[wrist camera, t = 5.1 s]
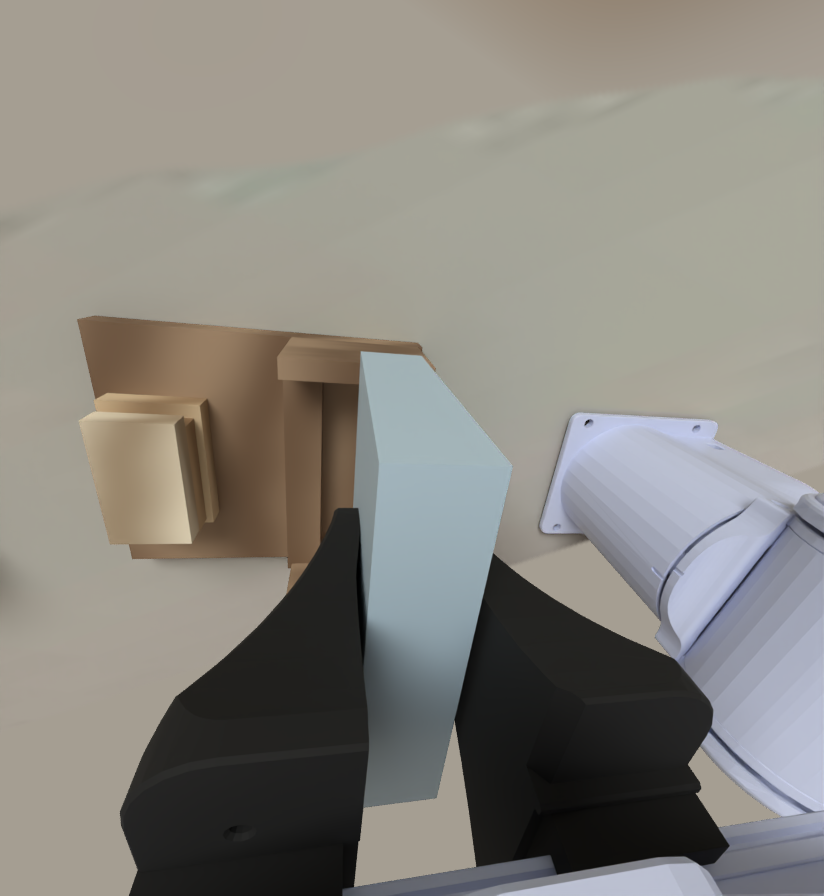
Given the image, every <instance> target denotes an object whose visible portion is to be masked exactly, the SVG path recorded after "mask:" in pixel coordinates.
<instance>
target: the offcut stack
mask: <svg viewBox="0 0 824 896" xmlns="http://www.w3.org/2000/svg"><path fill="white" fill-rule="evenodd" d="M94 403H95V408H96V412H93V413H91V414H89V415H88V416H86V417H84V418H82V419H81V420H79V424H80V428H81V432H82V436H83V440H84V444H85V448H86V452H87V456H88V460H89V464H90V467H91V471H92V475H93V479H94V483H95V487H96V491H97V495H98V499H99V503H100V507H101V511H102V515H103V519H104V523H105V526H106V530H107V534H108V538H109V542H110V544H192V543H193V541H194V539H195V537H196V535H197V533H198V532H200V530H201V528H202V526H203V525H204V523H205V522H214V521H215V519H216V517H217V515H218V513H219V502H218V493H217V484H216V475H215V466H214V456H213V447H212V438H211V429H210V420H209V411H208V402H207V398H191V397H173V396H154V395H135V394H116V393H106V394H104V395H103V396H101V397H99V398H97V399H95V400H94Z"/></svg>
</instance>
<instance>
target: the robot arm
mask: <svg viewBox="0 0 824 896" xmlns="http://www.w3.org/2000/svg"><path fill="white" fill-rule="evenodd" d="M588 419H589V423H588V424H587V425H585V422H586V421H587V420H588ZM694 426H695V427H694ZM693 427H694V429H693ZM692 429H693V430H692ZM717 429H718V424H717V423H716V422H714V421H712V420H704V419H686V418H668V417H650V416H632V415H615V414H597V413H576V414H574V415H573V416H572V417H571V418H570V420H569V424H568V427H567V431H566V434H565V438H564V441H563V444H562V448H561V451H560V455H559V458H558V462H557V465H556V469H555V472H554V476H553V479H552V483H551V486H550V490H549V493H548V497H547V500H546V504H545V507H544V511H543V514H542V517H541V521H540V525H539V527H540V529H541V530H542V532H544V533H547V534H552V533H584V534H585V535H586V537H587V538H588V539H589V540H590V541H591V542H592V543H593V545H594V546H595V547H596V548H597V549H598V550H599V551H600V553H601V554H602V555H603V556H604V557H605V558H606V559H607V560H608V562H609V563H610V564H611V565H612V566H613V567H614V568H615V570H616V571H617V572H618V573H619V574H620V575H621V576H622V577H623V579H624V580H625V581H626V582H627V583H628V584H629V585H630V587H631V588H632V589H633V590H634V591H635V592H636V594H637V595H638V596H639V597H640V598H641V599H642V600H643V602H644V603H645V604H646V605H647V606H648V607H649V608H650V610H651V611H652V612H653V613H654V614H655V615H656V616H657V617H658V619H659V620H660V621H661V625H660V628H659V630H658V632H657V633H656V635H655V638H656V639H657V641H658V642H659V643H660V644H661V645H662V647H663V648H664V649H665V650H666V652H667V653H668V654H669V655H670V656H671V657H669V656H666V655H664V654H662V653H659V652H657V651H655V650H652V649H650V648H648V647H646V646H643V645H641V644H638V643H636V642H634V641H631V640H629V639H627V638H625V637H623V636H621V635H619V634H617V633H615V632H612V631H611V630H609V629H607V628H604V627H603V626H601V625H599V624H597V623H595V622H593V621H591V620H589V619H587V618H585V617H583V616H582V615H580V614H578V613H577V612H575V611H573V610H572V609H570V608H568V607H567V606H565V605H563V604H561V603H560V602H558V601H556V600H555V599H553V598H552V597H550V596H549V595H547V594H546V593H544V592H543V591H541V590H540V589H538V588H537V587H535V586H534V585H533V584H531V583H530V582H528V581H527V580H525V579H524V578H523V577H521V576H520V575H519V574H518V573H516V572H515V571H514V570H512V569H511V568H510V567H509V566H508V565H506V564H505V563H504V562H503V561H502V560H500V559H499V558H498V557H497V556H496V555H495V554H493V555H492V559H491V563H490V568H489V572H488V576H487V581H486V585H485V589H484V594H483V598H482V602H481V607H480V611H479V616H478V620H477V624H476V629H475V633H474V637H473V642H472V646H471V650H470V655H469V659H468V663H467V668H466V672H465V676H464V681H463V685H462V689H461V694H460V698H459V702H458V707H457V711H456V715H455V725H456V732H457V737H458V743H459V750H460V756H461V761H462V768H463V775H464V781H465V788H466V795H467V801H468V808H469V815H470V823H471V830H472V837H473V845H474V852H475V860H476V867H474V868H468V869H462V870H456V871H449V872H443V873H438V874H431V875H425V876H419V877H413V878H407V879H400V880H394V881H388V882H382V883H377V884H370V885H364V886H358V887H354V881H355V871H356V860H357V851H358V841H360V833H361V824H362V814H363V805H364V795H365V786H366V776H367V766H368V757H369V729H368V708H367V700H366V691H365V682H364V673H363V663H362V653H361V642H360V630H359V617H358V602H357V574H358V558H359V542H360V518H359V510H358V508H337V509H336V510H335V511H334V514H333V518H332V521H331V523H330V526H329V528H328V530H327V532H326V535H325V537H324V538H323V540H322V542H321V544H320V546H319V548H318V549H317V551H316V553H315V555H314V556H313V558H312V559H311V561H310V562H309V564H308V565H307V567H306V569H305V570H304V572H303V573H302V575H301V576H300V577H299V579H298V580H297V581H296V583H295V584H294V585H293V587H292V588H291V589H290V591H289V592H288V593H287V594H286V596H285V597H284V598H283V599H282V600H281V602H280V603H279V604H278V605H277V606H276V607H275V608H274V609H273V611H272V612H271V613H270V614H269V615H268V616H267V617H266V618H265V619H264V621H263V622H262V623H261V624H260V625H259V626H258V627H257V628H256V629H255V630H254V631H253V632H252V633H251V634H249V635H248V636H247V637H246V638H245V639H244V640H243V641H242V642H241V643H240V644H239V645H238V646H237V647H236V648H234V649H233V650H232V651H231V652H230V653H229V654H228V655H227V656H226V657H225V658H224V659H222V660H221V661H220V662H219V663H218V664H217V665H215V666H214V667H213V668H212V669H210V670H209V671H208V672H207V673H205V674H204V675H203V676H202V677H200V678H199V679H198V680H197V681H195V682H194V683H193V684H192V685H190V686H189V687H188V688H187V689H185V690H184V691H183V692H181V693H180V694H179V695H178V696H176V697H175V699H174V700H173V702H172V704H171V705H170V707H169V708H168V710H167V712H166V713H165V715H164V717H163V718H162V720H161V722H160V724H159V725H158V727H157V729H156V731H155V733H154V735H153V737H152V738H151V740H150V742H149V744H148V746H147V748H146V750H145V752H144V754H143V756H142V758H141V761H140V763H139V765H138V768H137V771H136V773H135V776H134V778H133V781H132V783H131V785H130V788H129V790H128V793H127V795H126V798H125V801H124V803H123V805H122V808H121V811H120V817H121V826H122V829H123V831H124V834H125V837H126V840H127V842H128V845H129V848H130V850H131V853H132V855H133V858H134V861H135V864H136V866H137V869H138V871H137V874H136V877H135V880H134V883H133V885H132V888H131V891H130V894H129V896H824V493H818V492H817V491H816V490H815V489H813V488H812V487H810V486H808V485H807V484H805V483H803V482H801V481H799V480H797V479H795V478H793V477H791V476H789V475H787V474H784V473H782V472H780V471H778V470H776V469H774V468H772V467H770V466H768V465H766V464H764V463H762V462H760V461H758V460H755V459H753V458H751V457H749V456H747V455H745V454H743V453H741V452H739V451H737V450H735V449H733V448H731V447H728V446H726V445H724V444H722V443H720V442H718V441H716V440H714V439H713V438H714V436H715V434H716V432H717ZM556 524H557V525H556ZM554 525H556V526H555V527H553V526H554ZM699 747H701V748H702V749H703V751H704V752H705V753H706V754H707V755H708V757H709V758H710V759H711V760H712V761H713V762H714V763H715V764H716V765H717V766H718V767H719V768H720V769H721V770H722V771H723V772H724V773H725V774H726V775H727V776H728V777H729V778H730V779H731V780H732V781H733V782H734V783H735V784H736V785H738V786H739V787H740V788H741V789H742V790H744V791H745V792H746V793H747V794H748V795H750V796H751V797H752V798H754V799H755V800H757V801H758V802H759V803H761V804H762V805H763V806H765V807H766V808H768V809H770V810H771V811H773V812H774V813H776V814H778V815H779V816H781V817H780V818H773V819H767V820H761V821H755V822H749V823H743V824H737V825H730V826H724V827H717V825H716V824H715V822H714V821H713V819H712V818H711V816H710V815H709V813H708V812H707V810H706V809H705V807H704V805H703V804H702V803H701V801H700V800H699V798H698V796H697V795H696V793H698V792H699V791H700V790H701V786H700V782H699V780H698V779H697V778H696V776H695V775H694V773H693V772H692V770H691V769H690V767H689V766H688V763H689V761H690V760H691V759H692V757H693V756H694V754H695V753H696V751H697V750H698V748H699Z"/></svg>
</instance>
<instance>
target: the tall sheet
mask: <svg viewBox="0 0 824 896" xmlns="http://www.w3.org/2000/svg"><path fill="white" fill-rule="evenodd" d="M512 468H513V466H512V465H511V464H510V462H509V461H508V460H507V459H506V458H505V456H504V455H503V454H502V453H501V451H500V450H499V449H498V448H497V447H496V445H495V444H494V443H493V442H492V441H491V439H490V438H489V437H488V436H487V434H486V433H485V432H484V431H483V430H482V428H481V427H480V426H479V425H478V424H477V422H476V421H475V420H474V419H473V418H472V416H471V415H470V414H469V413H468V411H467V410H466V409H465V408H464V407H463V405H462V404H461V403H460V402H459V401H458V399H457V398H456V397H455V396H454V395H453V393H452V392H451V391H450V390H449V388H448V387H447V386H446V385H445V384H444V382H443V381H442V380H441V379H440V378H439V376H438V375H437V374H436V373H435V372H434V370H433V369H432V368H431V367H430V365H429V364H428V363H427V362H426V361H425V359H424V358H423V357H422V356H417V355H404V354H390V353H377V352H363V351H361V356H360V377H359V397H358V417H357V438H356V458H355V479H354V499H353V508H358V510H359V518H360V542H359V558H358V574H357V602H358V617H359V630H360V642H361V653H362V663H363V673H364V682H365V691H366V700H367V708H368V729H369V757H368V766H367V776H366V786H365V795H364V805H363V808H365V807H372V806H379V805H388V804H395V803H403V802H411V801H418V800H426V799H433V798H437V794H438V789H439V785H440V781H441V776H442V772H443V767H444V763H445V759H446V754H447V750H448V746H449V741H450V737H451V733H452V729H453V724H454V720H455V715H456V711H457V707H458V702H459V698H460V694H461V689H462V685H463V681H464V676H465V672H466V668H467V663H468V659H469V655H470V650H471V646H472V642H473V637H474V633H475V629H476V624H477V620H478V616H479V611H480V607H481V602H482V598H483V594H484V589H485V585H486V581H487V576H488V572H489V568H490V563H491V559H492V555H493V550H494V546H495V542H496V537H497V533H498V529H499V524H500V520H501V516H502V511H503V507H504V502H505V498H506V494H507V489H508V485H509V481H510V476H511V472H512Z"/></svg>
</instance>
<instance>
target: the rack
mask: <svg viewBox="0 0 824 896" xmlns="http://www.w3.org/2000/svg"><path fill="white" fill-rule="evenodd" d="M77 321H78V325H79V329H80V334H81V338H82V342H83V347H84V351H85V355H86V360H87V364H88V369H89V373H90V377H91V382H92V386H93V390H94V395H95V399H97V398H99V397H101V396H103V395H104V394H106V393H116V394H135V395H154V396H173V397H191V398H207V402H208V411H209V420H210V429H211V438H212V447H213V456H214V466H215V475H216V484H217V493H218V502H219V513H218V515H217V517H216V519H215V521H214V522H205V523H204V525H203V526H202V528H201V530H200V532H198V533H197V535H196V537H195V539H194V541H193V543H192V544H129V547H130V551H131V555H132V559H159V558H229V557H288V568H291V571H290V577H289V582H288V588H287V593H288V592H289V591H290V589H291V588H292V587H293V585H294V584H295V583H296V581H297V580H298V579H299V577H300V576H301V575H302V573H303V572H304V570H305V569H306V567H307V565H308V564H309V562H310V561H311V559H312V558H313V556H314V555H315V553H316V551H317V549H318V548H319V546H320V544H321V542H322V540H323V538H324V537H325V535H326V532H327V530H328V528H329V526H330V523H331V521H332V518H333V514H334V511H335V510H336V509H337V508H353V499H354V479H355V458H356V438H357V417H358V397H359V377H360V356H361V351H363V352H377V353H390V354H404V355H417V356H422V357H423V358H424V359H425V361H426V362H427V363H428V364H429V365H430V367H431V368H432V369H433V370H434V372H435V369H436V368H435V367H434V366H433V365H432V363H431V362H430V361H429V360H428V359H427V358H426V356H425V355H424V354H423V353H422V347H421V346H420V345H419V344H418V343H412V342H400V341H389V340H377V339H365V338H353V337H341V336H329V335H317V334H305V333H293V332H281V331H269V330H258V329H246V328H234V327H222V326H210V325H198V324H186V323H174V322H162V321H150V320H138V319H127V318H115V317H103V316H91V317H86V318H82V319H77ZM287 593H286V594H287Z"/></svg>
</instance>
